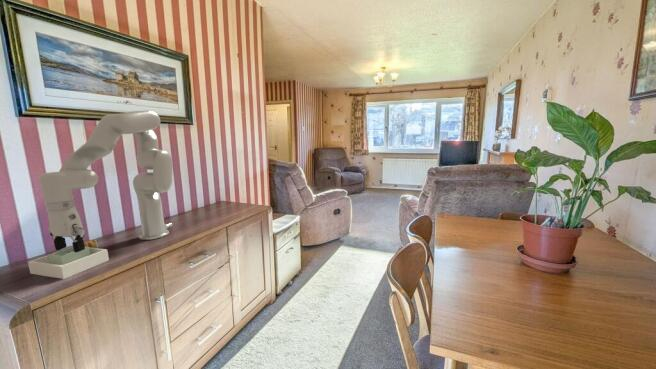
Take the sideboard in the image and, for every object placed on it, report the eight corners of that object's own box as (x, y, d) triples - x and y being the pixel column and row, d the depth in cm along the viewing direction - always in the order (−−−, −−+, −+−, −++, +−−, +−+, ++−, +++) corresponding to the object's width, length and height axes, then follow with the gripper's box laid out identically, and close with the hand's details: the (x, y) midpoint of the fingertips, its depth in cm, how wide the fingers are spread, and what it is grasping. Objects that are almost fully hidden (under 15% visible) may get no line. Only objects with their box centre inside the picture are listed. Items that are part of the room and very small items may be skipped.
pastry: (70, 256, 113) (68, 247, 112) (69, 251, 117) (68, 243, 117) (99, 249, 119) (98, 240, 119) (97, 245, 124) (96, 237, 123)
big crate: (78, 256, 111) (76, 245, 111) (109, 260, 107) (107, 249, 106) (30, 273, 97) (27, 261, 96) (63, 278, 93) (61, 266, 92)
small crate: (78, 258, 107) (76, 245, 106) (91, 260, 105) (89, 246, 105) (50, 268, 99) (47, 254, 98) (64, 270, 97) (61, 256, 96)
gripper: (89, 204, 100) (98, 247, 103) (56, 202, 104) (66, 244, 107) (65, 209, 93) (75, 256, 96) (31, 207, 97) (42, 252, 100)
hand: (70, 249), depth 102 cm, fingers open, 9 cm apart
